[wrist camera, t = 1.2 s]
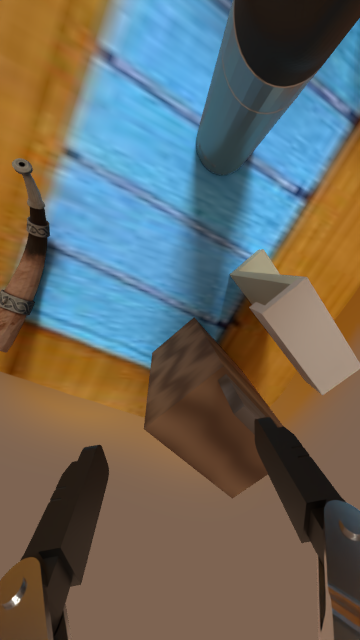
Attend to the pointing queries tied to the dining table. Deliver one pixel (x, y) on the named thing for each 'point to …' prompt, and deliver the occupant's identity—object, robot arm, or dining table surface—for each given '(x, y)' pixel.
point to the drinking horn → (25, 264)
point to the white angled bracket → (297, 322)
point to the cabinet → (206, 409)
